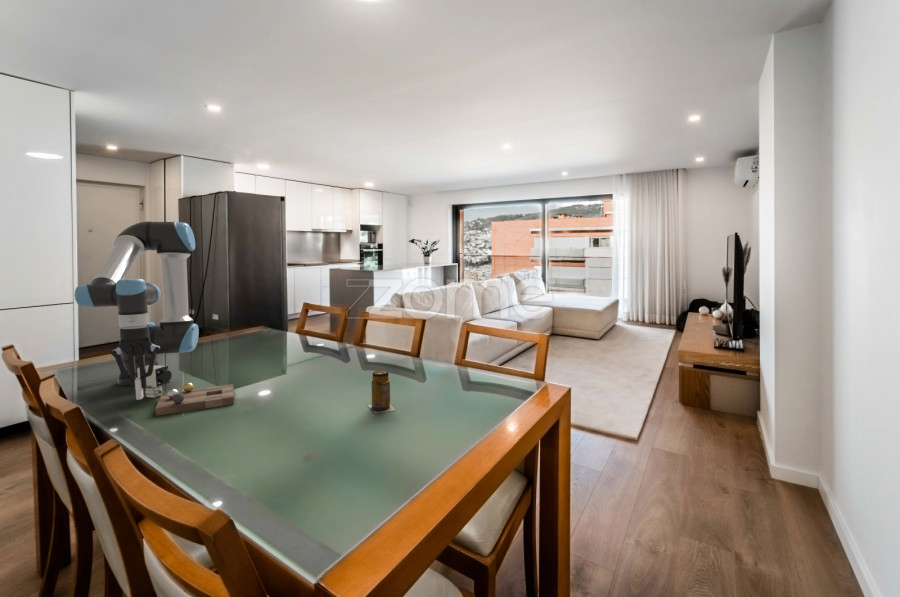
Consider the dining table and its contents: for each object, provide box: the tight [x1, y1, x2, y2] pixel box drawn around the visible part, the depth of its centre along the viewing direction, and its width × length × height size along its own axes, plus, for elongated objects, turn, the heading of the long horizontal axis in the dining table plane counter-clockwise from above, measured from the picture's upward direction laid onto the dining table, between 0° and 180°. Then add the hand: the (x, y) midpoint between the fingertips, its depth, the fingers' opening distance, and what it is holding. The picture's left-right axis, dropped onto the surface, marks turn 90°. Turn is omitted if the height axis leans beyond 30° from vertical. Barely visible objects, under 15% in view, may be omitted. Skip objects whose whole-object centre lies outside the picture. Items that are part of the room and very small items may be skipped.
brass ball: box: [182, 382, 195, 392], centre depth 146 cm, size 3×3×3 cm
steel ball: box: [166, 388, 179, 399], centre depth 139 cm, size 3×3×3 cm
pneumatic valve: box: [136, 364, 172, 399], centre depth 148 cm, size 6×12×12 cm, turn 78°
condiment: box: [367, 369, 396, 414], centre depth 136 cm, size 7×8×12 cm
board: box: [155, 383, 235, 417], centre depth 142 cm, size 16×22×2 cm
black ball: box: [172, 393, 184, 403], centre depth 134 cm, size 3×3×3 cm
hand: (139, 398), depth 134 cm, fingers closed
